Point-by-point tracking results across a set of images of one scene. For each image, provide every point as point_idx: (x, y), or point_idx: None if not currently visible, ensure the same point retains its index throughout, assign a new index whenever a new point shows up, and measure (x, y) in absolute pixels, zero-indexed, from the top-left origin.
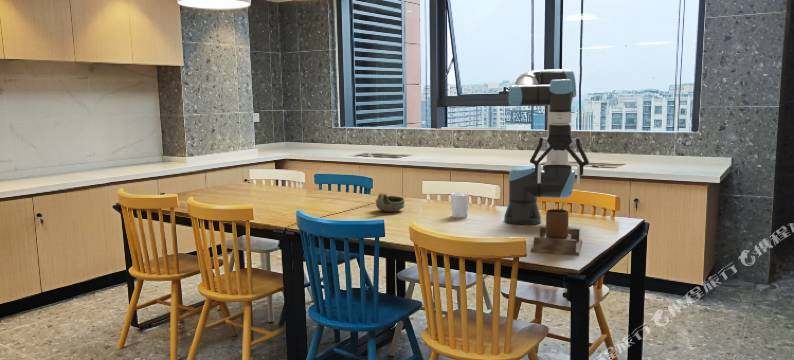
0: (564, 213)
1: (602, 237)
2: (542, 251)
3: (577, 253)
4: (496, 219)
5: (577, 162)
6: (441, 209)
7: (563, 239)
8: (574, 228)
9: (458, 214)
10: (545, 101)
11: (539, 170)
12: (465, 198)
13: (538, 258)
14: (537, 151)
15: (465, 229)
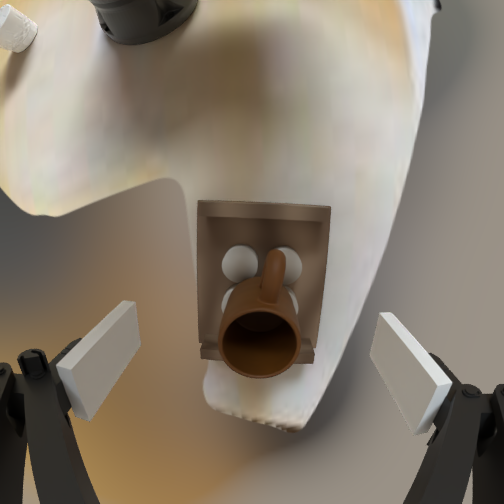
0: (286, 369)
1: (381, 135)
2: None
3: (312, 346)
4: (89, 19)
5: (425, 457)
6: None
7: None
8: (314, 208)
9: (17, 49)
10: None
11: (103, 394)
12: (5, 28)
13: (225, 383)
14: (15, 494)
15: (30, 150)
